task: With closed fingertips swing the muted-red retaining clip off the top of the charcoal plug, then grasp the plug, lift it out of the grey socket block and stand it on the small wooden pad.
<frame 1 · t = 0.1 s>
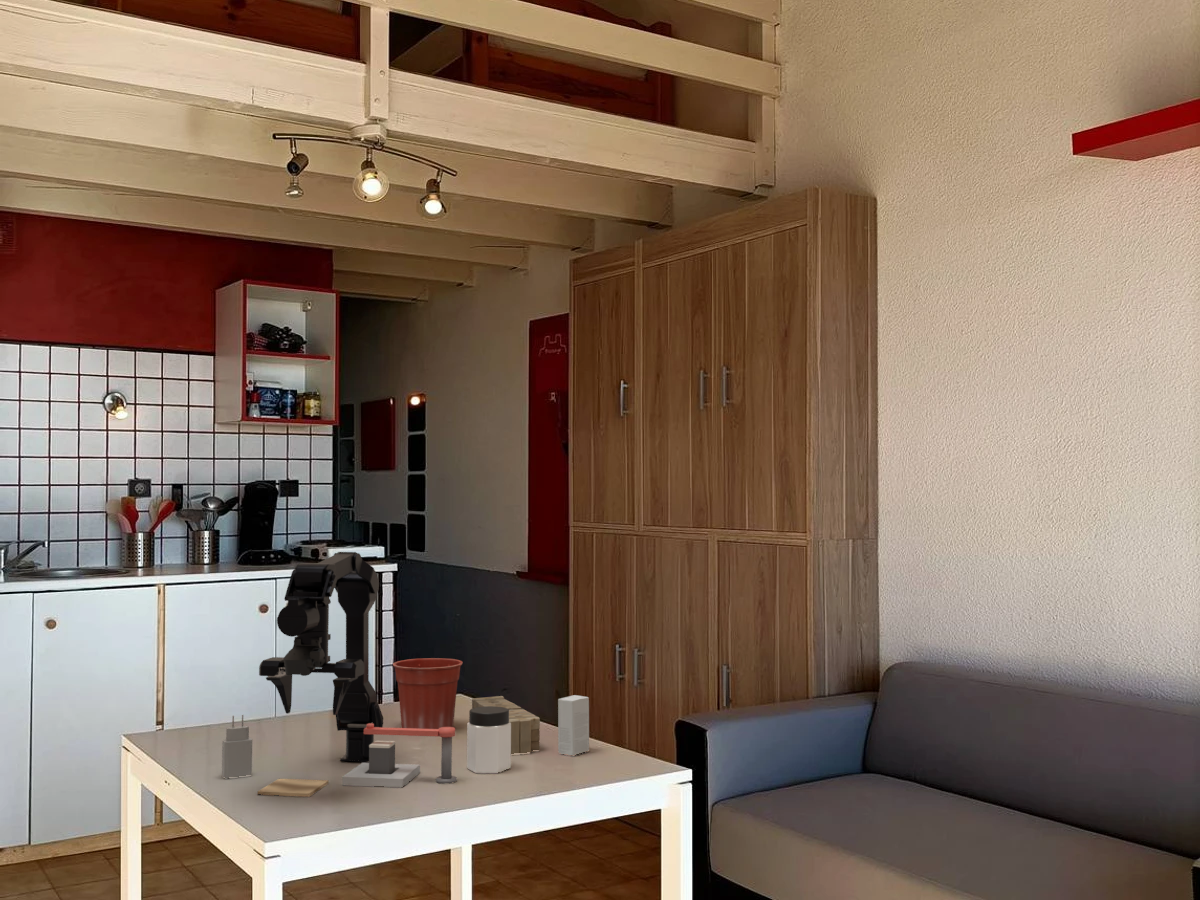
hand: (311, 713, 212), 15 cm above the table, tool pointing down, fingers open, 9 cm apart
flower pot: (427, 731, 270), on the table
power adapter: (236, 777, 224), on the table
wooden pad: (293, 789, 214), on the table
clip: (409, 729, 222), point 10 cm above the table, hinge at 0.0°
block tower: (505, 743, 258), on the table
skincare box: (573, 754, 246), on the table
jar: (488, 770, 231), on the table
plug: (381, 779, 223), resting in socket block
socket block: (381, 778, 223), on the table
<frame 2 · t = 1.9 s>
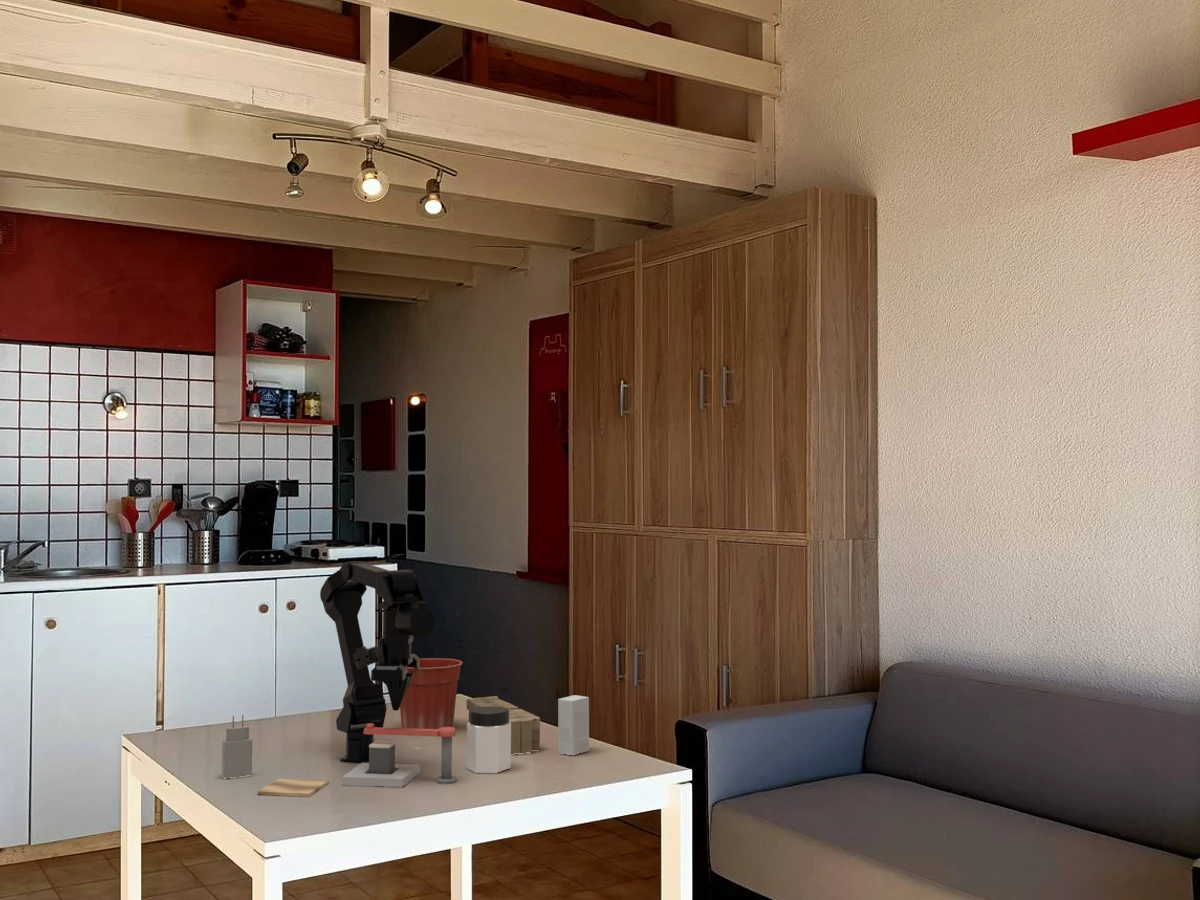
hand: (395, 710, 228), 12 cm above the table, tool pointing down, fingers closed
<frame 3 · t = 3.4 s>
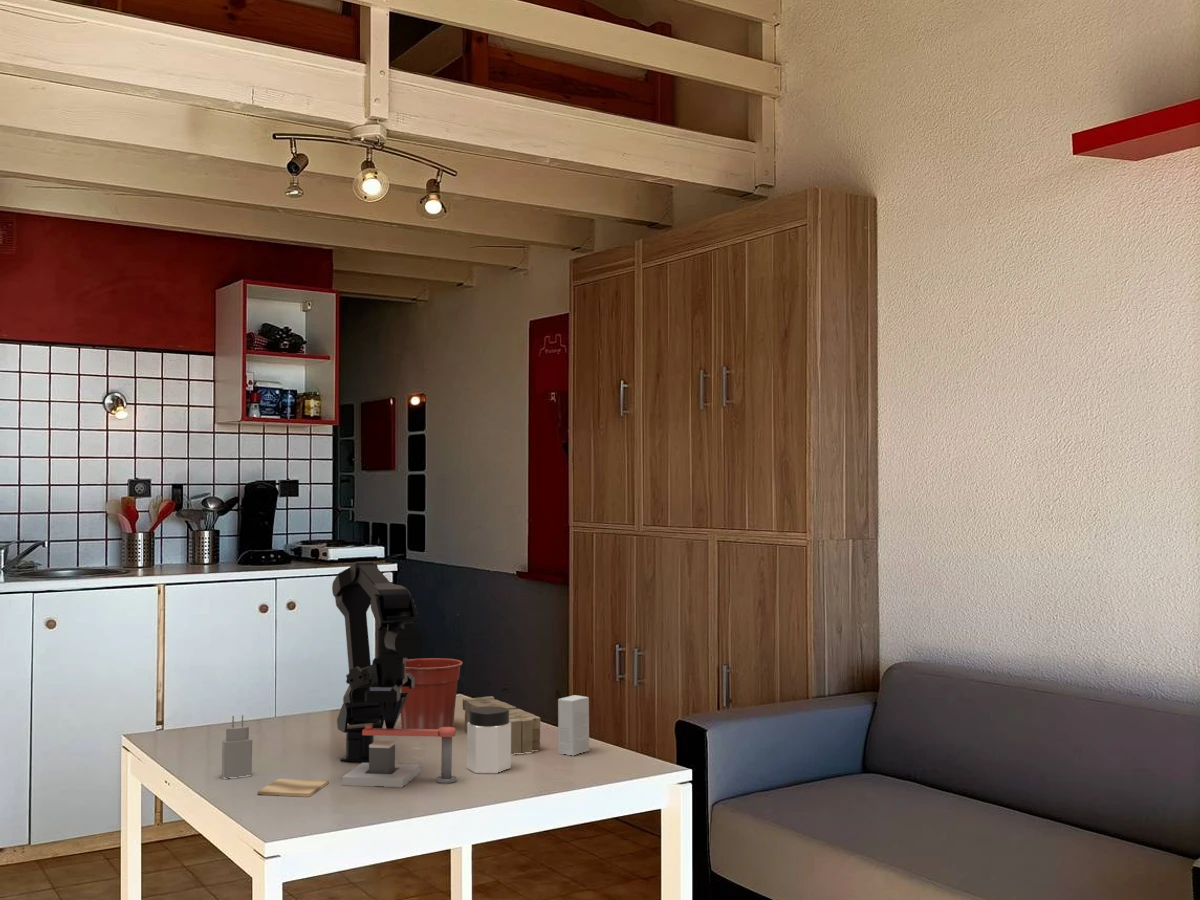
hand: (390, 731, 224), 9 cm above the table, tool pointing down, fingers closed
clip: (409, 730, 222), point 10 cm above the table, hinge at 3.8°, touching gripper
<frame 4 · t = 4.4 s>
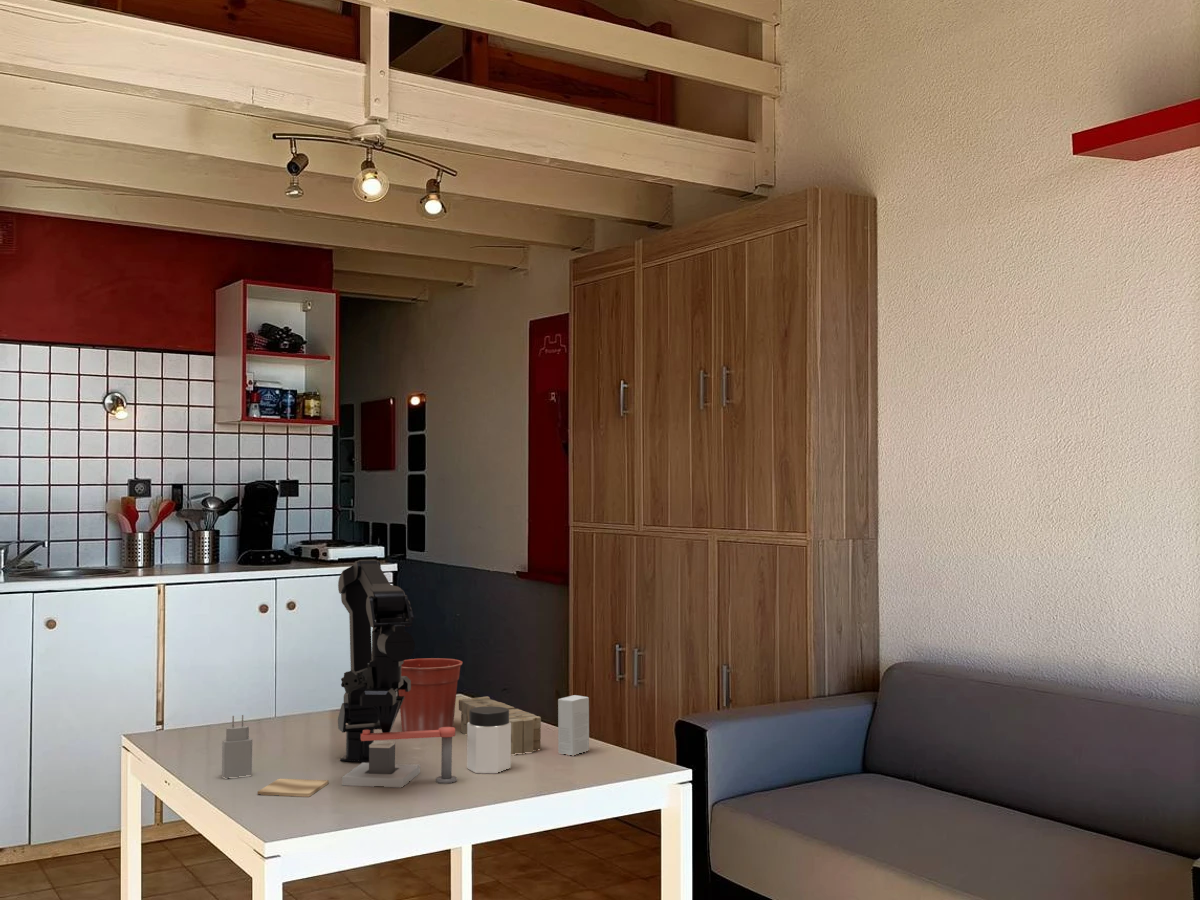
hand: (386, 735, 220), 9 cm above the table, tool pointing down, fingers closed
clip: (408, 732, 219), point 10 cm above the table, hinge at 22.6°, touching gripper
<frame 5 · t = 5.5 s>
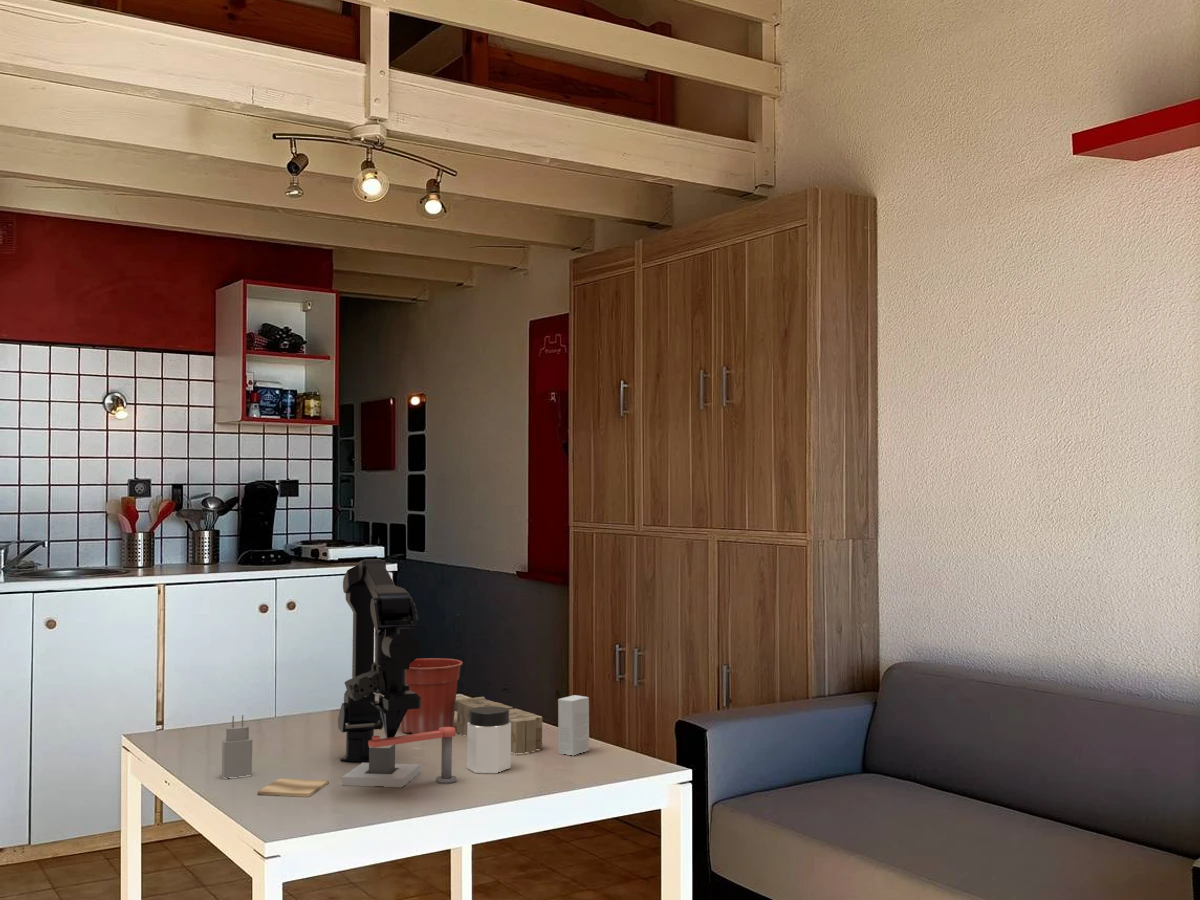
hand: (389, 740, 215), 9 cm above the table, tool pointing down, fingers closed
clip: (413, 735, 217), point 10 cm above the table, hinge at 46.3°, touching gripper
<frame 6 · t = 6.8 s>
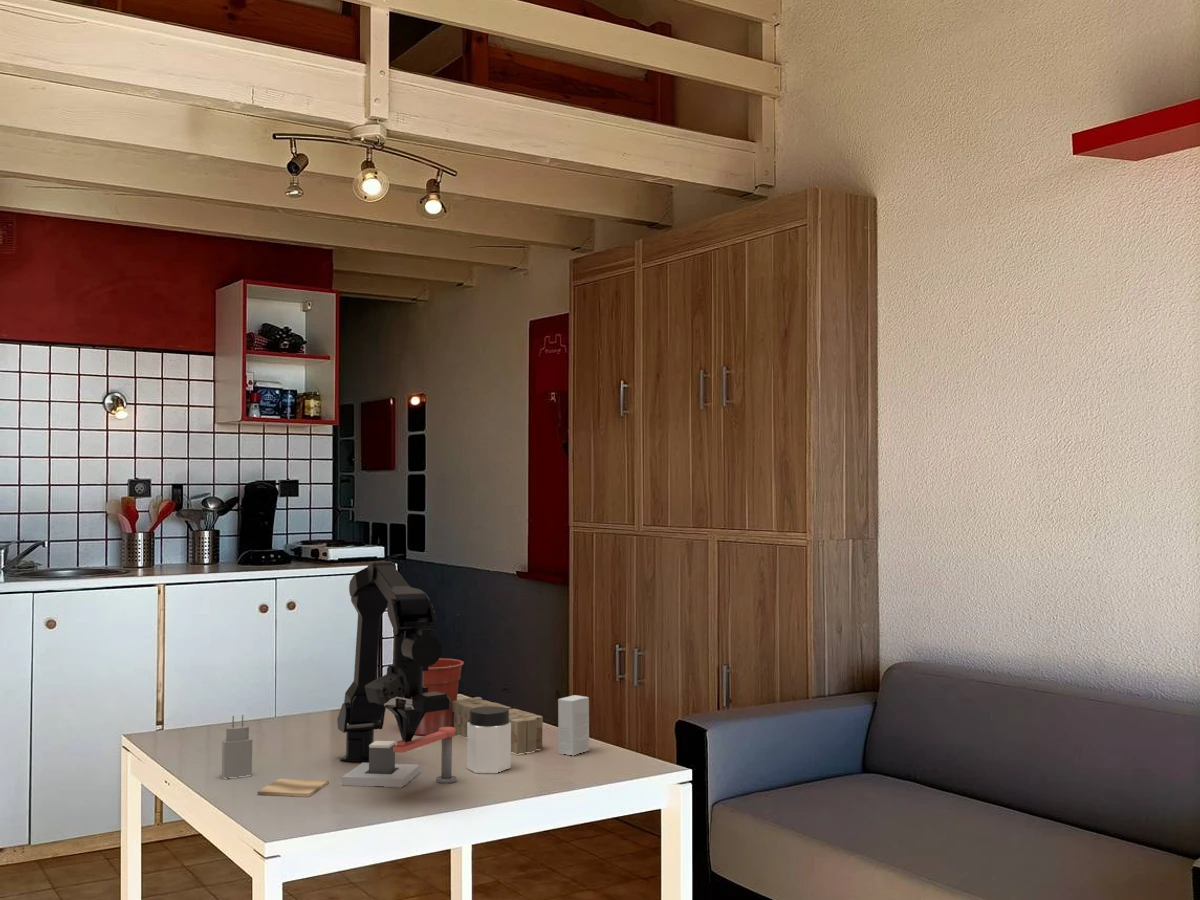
hand: (406, 743, 212), 9 cm above the table, tool pointing down, fingers closed
clip: (425, 738, 215), point 10 cm above the table, hinge at 72.1°, touching gripper
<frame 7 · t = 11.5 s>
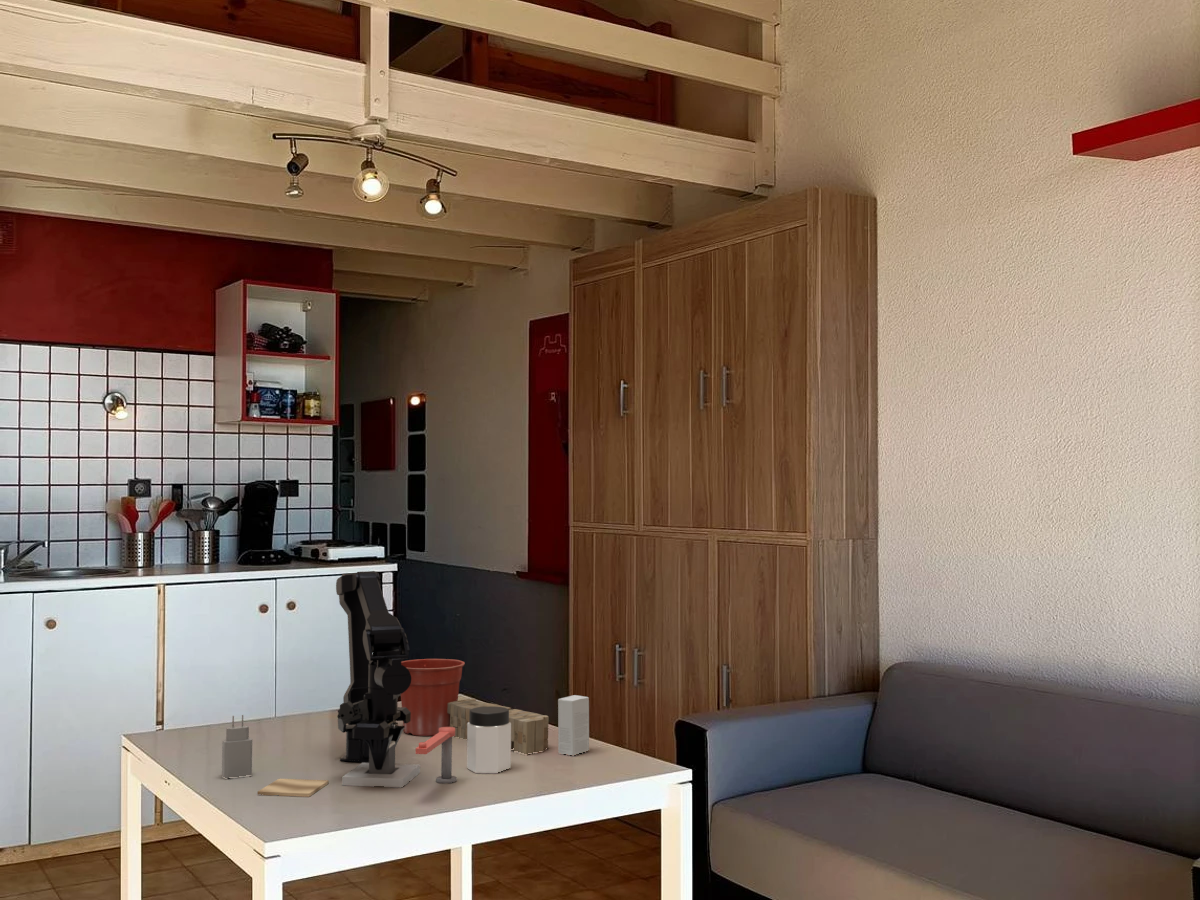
hand: (382, 766, 223), 2 cm above the table, tool pointing down, fingers closed on plug, 4 cm apart
flower pot: (429, 732, 269), on the table, touching block tower
clip: (435, 738, 214), point 10 cm above the table, hinge at 88.1°
block tower: (497, 744, 257), on the table, touching flower pot
plug: (381, 778, 223), resting in socket block, touching gripper
everything else where it was.
when the fingers open (4 cm above the table, at t = 15.9 s): plug drops 1 cm, resting on wooden pad.
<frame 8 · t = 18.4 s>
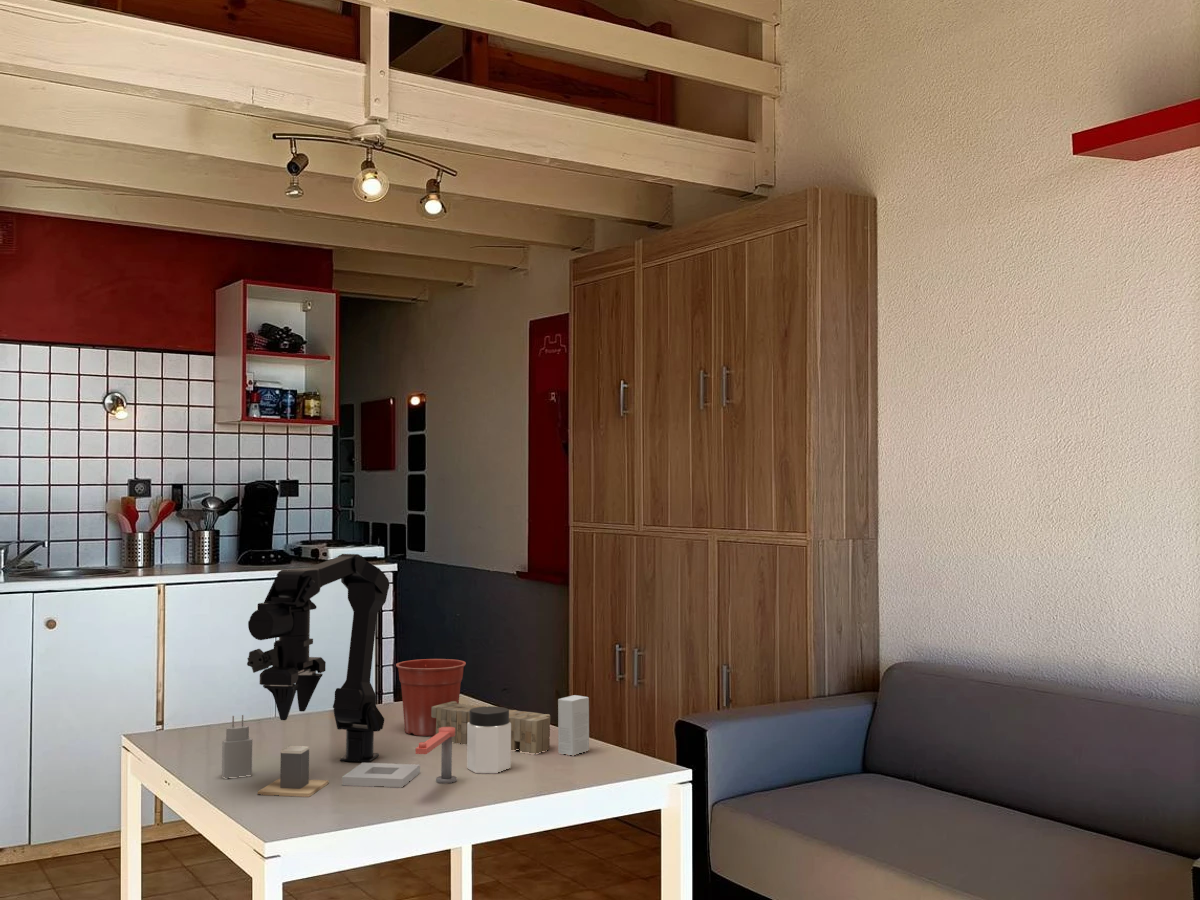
hand: (293, 715, 219), 13 cm above the table, tool pointing down, fingers open, 9 cm apart
flower pot: (430, 732, 269), on the table
block tower: (492, 746, 255), on the table
plug: (294, 785, 214), point 1 cm above the table, touching wooden pad
everything else where it was.
at the end: clip at +88° (first picture: +0°); plug inside the target area on the wooden pad (0.1 cm from its centre), point 0.6 cm above the wooden pad's base; plug tilted 0° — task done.
